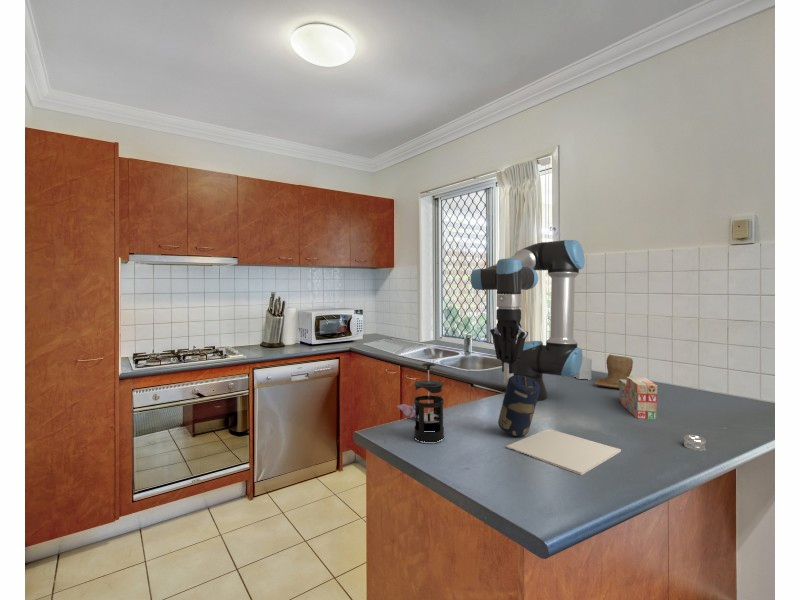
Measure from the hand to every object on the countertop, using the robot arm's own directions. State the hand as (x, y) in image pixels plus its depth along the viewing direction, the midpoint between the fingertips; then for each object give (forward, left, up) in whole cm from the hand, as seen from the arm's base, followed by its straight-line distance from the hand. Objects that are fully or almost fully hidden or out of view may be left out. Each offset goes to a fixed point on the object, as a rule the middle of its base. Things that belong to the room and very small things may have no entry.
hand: (508, 383), depth 126 cm
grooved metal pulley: (+41, +30, -16) cm, 53 cm away
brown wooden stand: (-4, +85, -16) cm, 87 cm away
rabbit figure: (-32, -13, -16) cm, 38 cm away
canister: (+1, 0, -15) cm, 15 cm away
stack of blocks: (+16, +55, -16) cm, 60 cm away
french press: (-13, -22, -16) cm, 30 cm away
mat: (+18, 0, -16) cm, 24 cm away
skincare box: (-24, +93, -16) cm, 98 cm away
